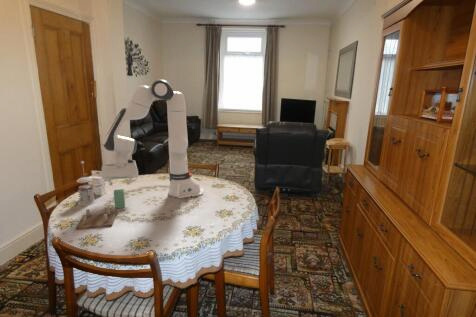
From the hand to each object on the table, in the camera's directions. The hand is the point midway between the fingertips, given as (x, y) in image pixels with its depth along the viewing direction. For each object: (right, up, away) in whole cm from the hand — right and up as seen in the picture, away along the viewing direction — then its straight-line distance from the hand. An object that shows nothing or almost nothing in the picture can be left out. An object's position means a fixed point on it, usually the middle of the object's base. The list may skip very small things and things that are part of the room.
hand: (119, 184), depth 166 cm
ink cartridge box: (-20, -7, +15) cm, 26 cm away
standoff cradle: (-3, -17, -20) cm, 26 cm away
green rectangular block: (+1, -12, -3) cm, 13 cm away
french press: (-19, -11, +2) cm, 22 cm away
